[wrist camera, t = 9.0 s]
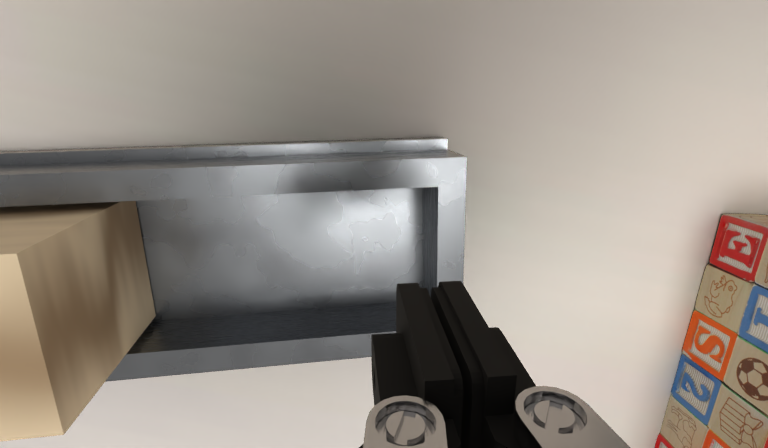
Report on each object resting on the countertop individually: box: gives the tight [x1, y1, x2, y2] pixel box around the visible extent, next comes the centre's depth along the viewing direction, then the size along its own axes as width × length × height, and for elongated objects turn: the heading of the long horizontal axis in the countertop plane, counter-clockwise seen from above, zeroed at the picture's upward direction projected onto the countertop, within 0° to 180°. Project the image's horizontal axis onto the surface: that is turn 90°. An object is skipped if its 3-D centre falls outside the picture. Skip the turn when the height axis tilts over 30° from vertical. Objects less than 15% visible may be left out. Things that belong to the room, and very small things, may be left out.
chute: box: [0, 137, 467, 381], centre depth 20 cm, size 10×26×4 cm, turn 91°
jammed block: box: [0, 201, 156, 441], centre depth 16 cm, size 6×6×8 cm
